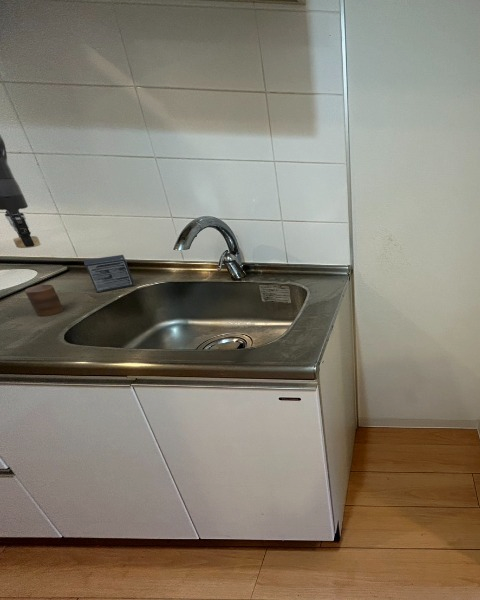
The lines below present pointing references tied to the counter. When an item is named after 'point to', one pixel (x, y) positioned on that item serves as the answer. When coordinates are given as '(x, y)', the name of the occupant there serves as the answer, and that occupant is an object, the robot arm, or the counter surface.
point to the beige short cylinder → (20, 243)
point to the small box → (109, 273)
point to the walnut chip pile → (44, 300)
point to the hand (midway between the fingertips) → (28, 243)
